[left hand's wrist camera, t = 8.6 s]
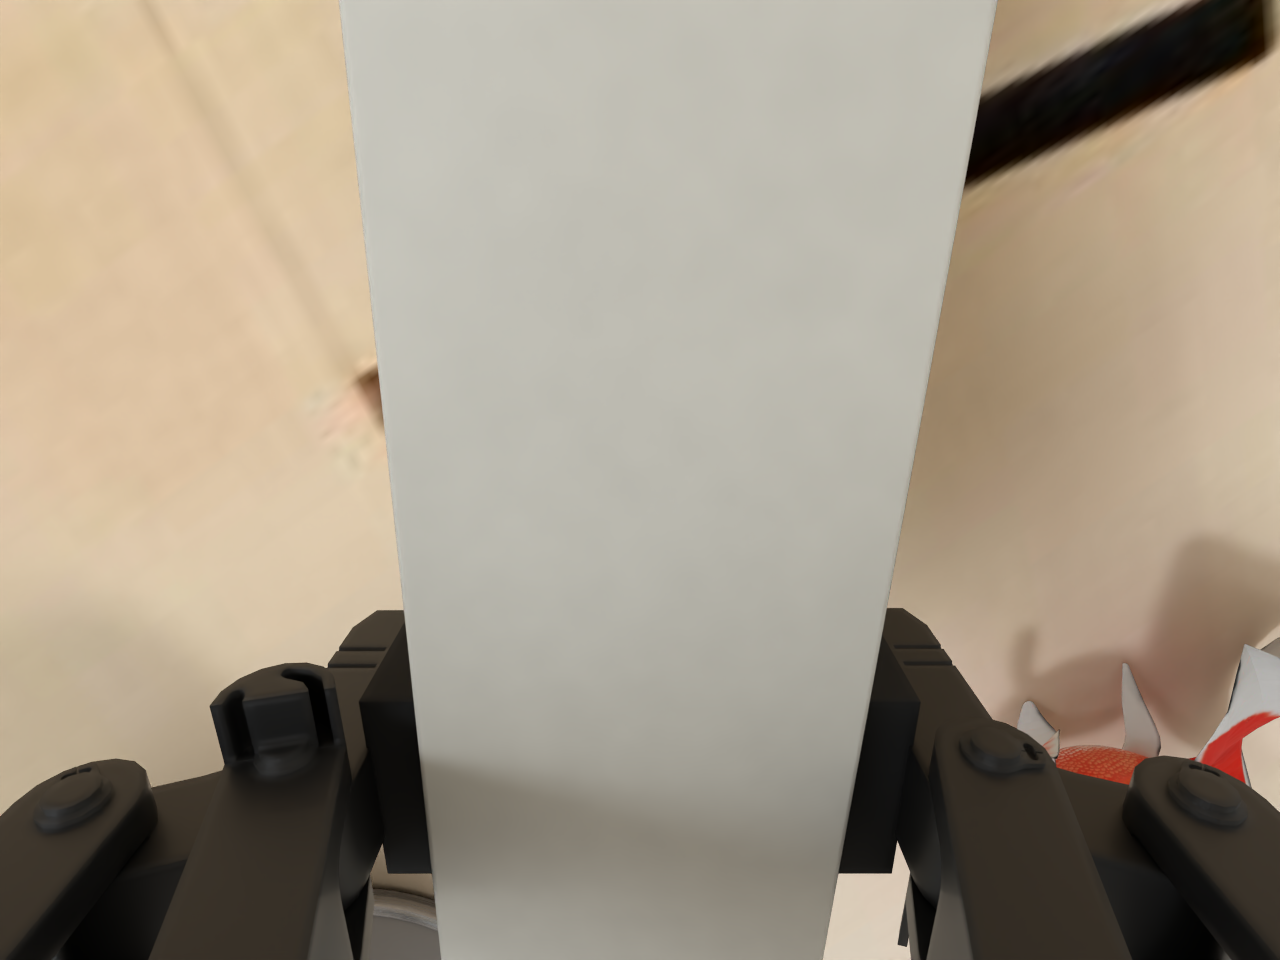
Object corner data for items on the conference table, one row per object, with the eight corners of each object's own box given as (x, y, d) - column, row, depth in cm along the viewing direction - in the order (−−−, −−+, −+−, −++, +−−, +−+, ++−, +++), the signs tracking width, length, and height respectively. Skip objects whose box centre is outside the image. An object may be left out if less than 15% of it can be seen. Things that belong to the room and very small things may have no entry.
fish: (943, 682, 25) (1260, 962, 18) (1218, 491, 29) (1560, 652, 22) (917, 820, 32) (1139, 1063, 24) (1144, 648, 36) (1387, 810, 29)
